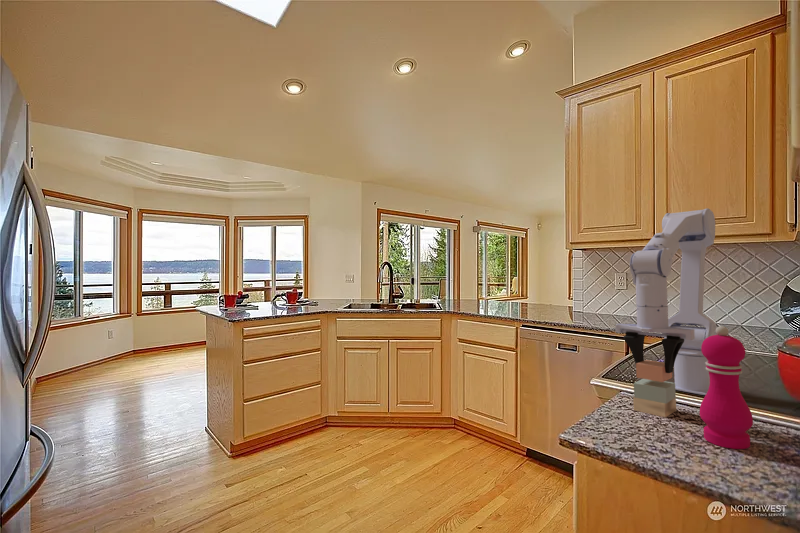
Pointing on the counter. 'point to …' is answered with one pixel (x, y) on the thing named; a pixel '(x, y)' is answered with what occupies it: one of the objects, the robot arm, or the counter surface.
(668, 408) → the base block
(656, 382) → the middle block
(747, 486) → the counter surface
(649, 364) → the terracotta block
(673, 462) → the counter surface
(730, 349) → the pepper mill
